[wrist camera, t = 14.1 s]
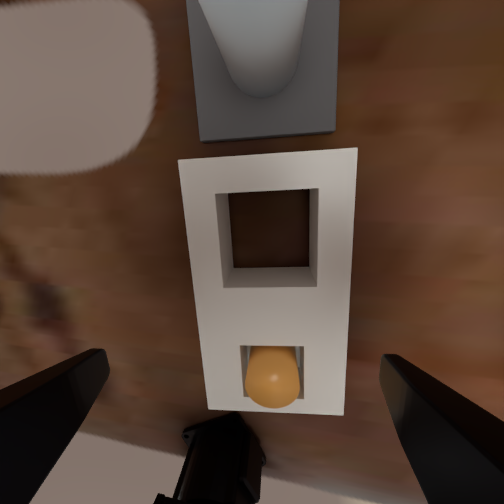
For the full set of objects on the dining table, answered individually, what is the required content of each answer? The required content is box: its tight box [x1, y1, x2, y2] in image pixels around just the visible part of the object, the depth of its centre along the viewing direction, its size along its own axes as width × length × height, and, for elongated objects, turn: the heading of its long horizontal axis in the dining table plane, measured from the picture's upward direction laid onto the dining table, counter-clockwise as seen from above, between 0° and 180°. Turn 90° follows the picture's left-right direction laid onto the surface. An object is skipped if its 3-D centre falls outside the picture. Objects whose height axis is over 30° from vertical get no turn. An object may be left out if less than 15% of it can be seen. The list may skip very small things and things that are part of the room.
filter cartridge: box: [198, 0, 308, 98], centre depth 11 cm, size 4×4×9 cm
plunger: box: [245, 345, 300, 408], centre depth 18 cm, size 4×4×4 cm
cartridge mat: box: [186, 0, 339, 143], centre depth 16 cm, size 9×9×1 cm
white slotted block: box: [178, 148, 358, 415], centre depth 18 cm, size 10×18×4 cm, turn 3°
